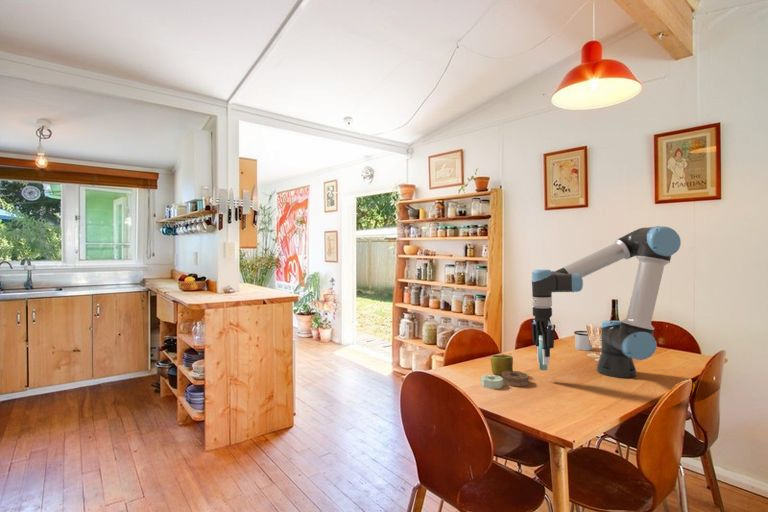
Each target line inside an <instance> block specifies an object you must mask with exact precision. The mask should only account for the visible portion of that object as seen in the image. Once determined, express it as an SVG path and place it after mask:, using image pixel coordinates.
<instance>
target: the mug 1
mask: <svg viewBox="0 0 768 512" xmlns="http://www.w3.org/2000/svg"><path fill="white" fill-rule="evenodd" d="M490 364H491V372H492V375H496V376H500V377H502V372H505V371H514V369H513V367H514V358H513V355H510V354H504V353H503V354H500V353H498V354H497V353H496V354H492V355H491V356H490Z"/></svg>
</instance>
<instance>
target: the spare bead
mask: <svg viewBox="0 0 768 512" xmlns="http://www.w3.org/2000/svg"><path fill="white" fill-rule="evenodd" d="M480 385H481V386H482V387H483V388H486V389H492V390H495V389H502V388H503V387H504V384H503V378H502V376H496V375H494V374H484V375H481V377H480Z"/></svg>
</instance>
